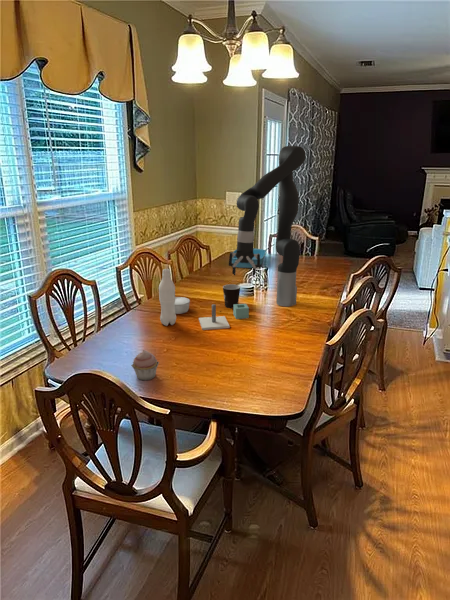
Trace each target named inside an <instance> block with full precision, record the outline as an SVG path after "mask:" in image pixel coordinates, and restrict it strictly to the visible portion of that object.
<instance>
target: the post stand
mask: <svg viewBox="0 0 450 600" xmlns="http://www.w3.org/2000/svg"><path fill="white" fill-rule="evenodd" d="M216 308H217V304H214V303H213V304H211V316H207V317H198V321H199V325H200V327H201V330H202V331H205V330H207V331H209V330H220V329H230V328H231V327H230V324H229V322H228V320H227V318H226V316H225V315H223V316H221V315H220V316H217V310H216Z"/></svg>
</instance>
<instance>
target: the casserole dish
mask: <svg viewBox="0 0 450 600" xmlns="http://www.w3.org/2000/svg"><path fill="white" fill-rule="evenodd" d="M236 252H237V248H236V249H234V250H233V251H232V253H236ZM253 253H254V254H258V253H259V254H260V266H261V265H262V263H263V262H264V260H265V257H266V253H267V250H266V249H262V248H256V247H254V248H253ZM236 260H237V257H236V255H235V256H234V257H233V258H232V263H233V264H234V262H235V261H236ZM252 260H253V262H254V264H255V265H256V264H257V259H256V258H255V256H254V257H253V258H252ZM235 267H236V268H239V269H240V268H243V269H253V268H252V265H251V264H250V262H249V263H241V262H239V263H238V264H237V265H236V266H235Z"/></svg>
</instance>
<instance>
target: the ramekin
mask: <svg viewBox="0 0 450 600" xmlns="http://www.w3.org/2000/svg"><path fill="white" fill-rule="evenodd" d="M175 299H176V300H175V304H174V309H175V314H176V315H179V314H181V315H182V314H186V313H188V311H189V310H190V309H189V308H190V303H191V300H190V299H189V298H187V297H184V296H183V297H182V296H175Z"/></svg>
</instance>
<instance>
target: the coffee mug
mask: <svg viewBox="0 0 450 600" xmlns="http://www.w3.org/2000/svg"><path fill="white" fill-rule="evenodd" d="M222 291H223V299H224V306H225V308H227V309H233V304H239V300H240V291H241V286H240V285H238V284H233V283H230V284H225V285H222Z"/></svg>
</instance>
